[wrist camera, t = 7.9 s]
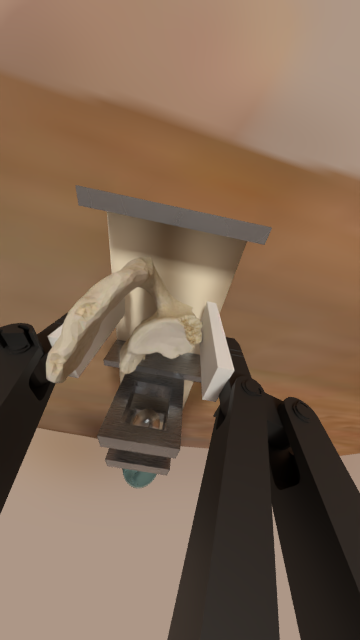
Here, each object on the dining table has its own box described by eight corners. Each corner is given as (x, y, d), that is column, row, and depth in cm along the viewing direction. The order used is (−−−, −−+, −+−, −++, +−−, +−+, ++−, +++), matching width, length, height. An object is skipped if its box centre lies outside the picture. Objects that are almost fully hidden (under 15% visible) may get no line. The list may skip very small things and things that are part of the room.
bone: (195, 366, 14) (89, 486, 7) (148, 331, 17) (28, 388, 9) (237, 282, 10) (87, 331, 2) (167, 251, 13) (-27, 225, 5)
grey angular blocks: (125, 388, 25) (94, 463, 17) (115, 197, 11) (-67, 142, 3) (183, 399, 25) (179, 477, 18) (246, 225, 11) (356, 234, 4)
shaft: (163, 442, 29) (156, 491, 24) (130, 436, 29) (116, 485, 24) (175, 400, 21) (169, 463, 15) (129, 392, 20) (106, 453, 15)
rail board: (126, 418, 31) (123, 427, 30) (115, 197, 11) (105, 194, 10) (173, 426, 32) (173, 435, 30) (246, 225, 11) (252, 225, 10)
